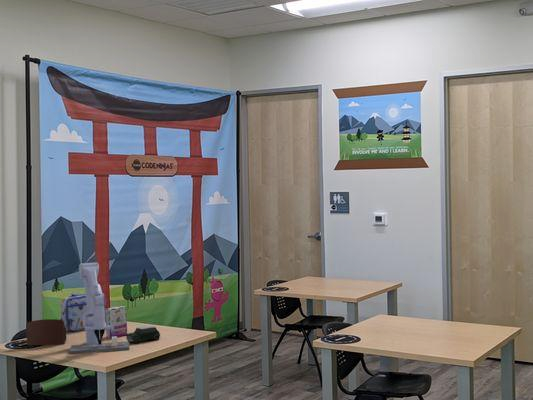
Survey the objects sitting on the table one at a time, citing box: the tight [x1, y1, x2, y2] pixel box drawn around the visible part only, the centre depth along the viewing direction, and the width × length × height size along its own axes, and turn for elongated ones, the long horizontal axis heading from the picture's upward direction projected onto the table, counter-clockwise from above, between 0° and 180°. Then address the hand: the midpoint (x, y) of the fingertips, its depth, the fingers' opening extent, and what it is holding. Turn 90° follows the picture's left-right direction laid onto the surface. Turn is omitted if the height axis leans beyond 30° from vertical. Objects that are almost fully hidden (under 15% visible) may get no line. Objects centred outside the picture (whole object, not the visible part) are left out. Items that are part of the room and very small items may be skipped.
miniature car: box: [125, 324, 161, 345], centre depth 389 cm, size 9×18×8 cm, turn 127°
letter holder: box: [25, 318, 67, 346], centre depth 389 cm, size 10×20×14 cm, turn 100°
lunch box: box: [60, 293, 107, 333], centre depth 427 cm, size 28×10×22 cm, turn 133°
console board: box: [68, 340, 130, 355], centre depth 371 cm, size 14×30×2 cm, turn 101°
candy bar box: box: [105, 305, 128, 339], centre depth 403 cm, size 11×5×16 cm, turn 131°
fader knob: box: [111, 336, 118, 346], centre depth 371 cm, size 4×2×4 cm, turn 11°
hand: (100, 344), depth 369 cm, fingers closed
